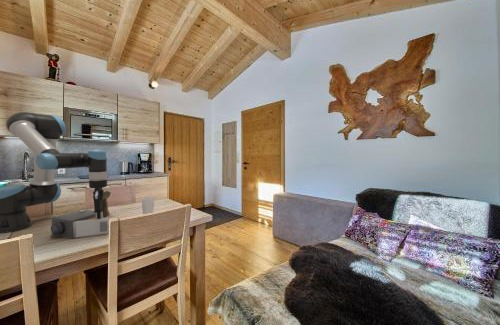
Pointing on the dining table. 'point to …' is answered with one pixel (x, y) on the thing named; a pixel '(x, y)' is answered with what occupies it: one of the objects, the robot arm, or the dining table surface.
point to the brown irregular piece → (105, 203)
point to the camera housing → (69, 222)
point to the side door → (90, 227)
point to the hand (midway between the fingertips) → (99, 223)
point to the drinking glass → (148, 204)
